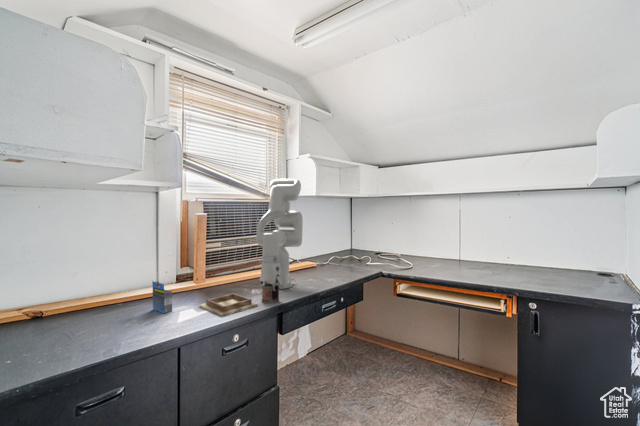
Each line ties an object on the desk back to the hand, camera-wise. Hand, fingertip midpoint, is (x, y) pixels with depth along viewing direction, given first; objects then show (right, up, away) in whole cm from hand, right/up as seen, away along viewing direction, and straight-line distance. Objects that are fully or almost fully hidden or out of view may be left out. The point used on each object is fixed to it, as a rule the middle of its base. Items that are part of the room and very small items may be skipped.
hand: (270, 296), depth 143 cm
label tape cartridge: (-44, -2, -13) cm, 46 cm away
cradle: (-17, -2, -7) cm, 19 cm away
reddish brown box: (0, -2, 0) cm, 2 cm away
